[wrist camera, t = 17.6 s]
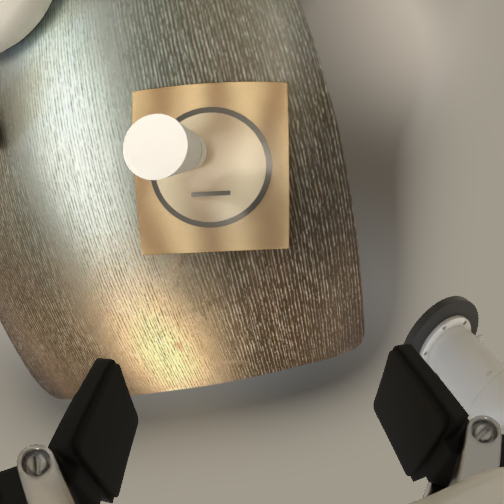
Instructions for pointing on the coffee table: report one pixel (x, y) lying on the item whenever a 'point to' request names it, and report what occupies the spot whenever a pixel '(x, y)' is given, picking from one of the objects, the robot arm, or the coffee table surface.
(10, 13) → the vase
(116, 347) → the coffee table surface
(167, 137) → the tube
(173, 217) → the drawing board
